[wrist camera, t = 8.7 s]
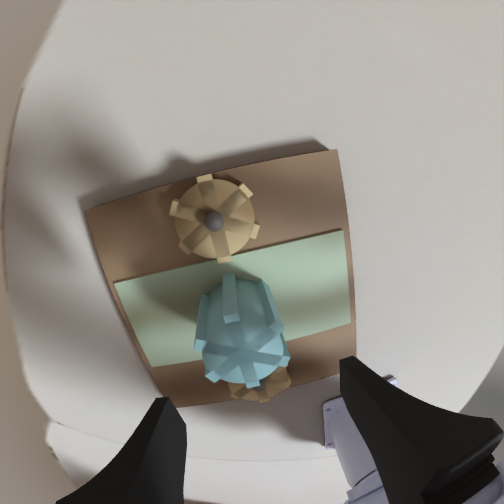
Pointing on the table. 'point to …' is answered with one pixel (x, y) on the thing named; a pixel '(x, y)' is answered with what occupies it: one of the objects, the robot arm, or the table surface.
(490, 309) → the table surface
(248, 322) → the teal gear
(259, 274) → the gear board
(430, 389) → the table surface
